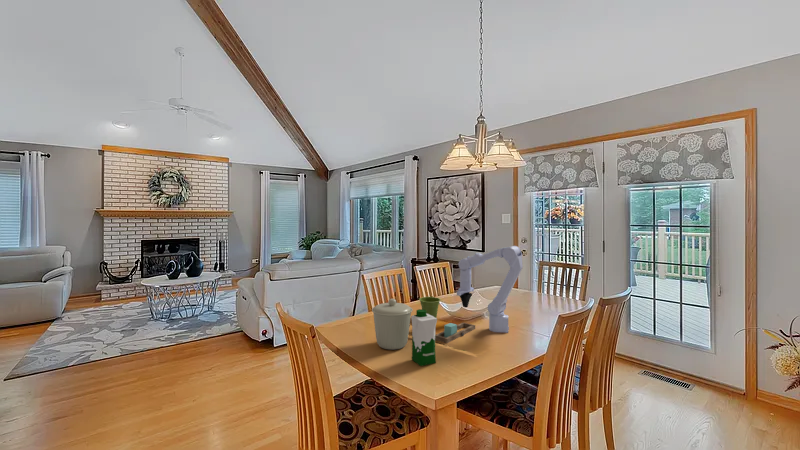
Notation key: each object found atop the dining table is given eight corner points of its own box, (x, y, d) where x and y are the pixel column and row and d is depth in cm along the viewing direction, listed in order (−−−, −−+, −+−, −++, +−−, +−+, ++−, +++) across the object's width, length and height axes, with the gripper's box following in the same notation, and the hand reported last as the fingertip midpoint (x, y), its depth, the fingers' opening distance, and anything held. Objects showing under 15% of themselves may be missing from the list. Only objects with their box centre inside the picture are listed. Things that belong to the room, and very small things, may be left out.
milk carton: (427, 355, 151) (427, 307, 150) (439, 363, 143) (439, 313, 142) (408, 359, 147) (409, 310, 146) (420, 367, 139) (420, 316, 138)
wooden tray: (461, 327, 187) (462, 322, 187) (476, 331, 182) (476, 325, 182) (433, 341, 167) (433, 334, 167) (448, 345, 162) (448, 339, 162)
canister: (366, 341, 167) (366, 296, 166) (402, 336, 174) (402, 292, 173) (379, 356, 150) (380, 305, 149) (419, 349, 157) (419, 301, 156)
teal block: (449, 334, 174) (450, 322, 174) (456, 336, 172) (456, 324, 171) (444, 336, 170) (444, 325, 170) (451, 338, 168) (451, 327, 168)
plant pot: (415, 317, 205) (415, 297, 204) (433, 315, 210) (433, 295, 209) (425, 323, 194) (425, 302, 194) (444, 320, 199) (444, 300, 199)
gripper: (465, 278, 198) (465, 303, 199) (451, 282, 187) (451, 308, 188) (477, 280, 194) (477, 305, 194) (463, 284, 183) (463, 310, 183)
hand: (465, 306), depth 191 cm, fingers closed
